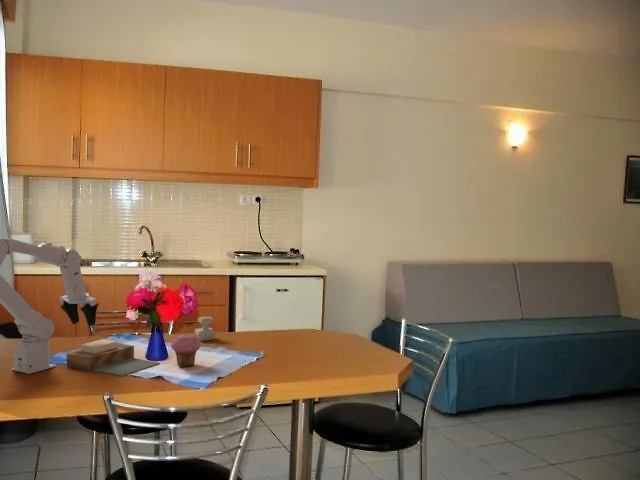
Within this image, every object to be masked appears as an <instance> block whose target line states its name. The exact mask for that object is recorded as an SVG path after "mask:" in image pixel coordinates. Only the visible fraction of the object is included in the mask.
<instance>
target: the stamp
mask: <svg viewBox="0 0 640 480" xmlns="http://www.w3.org/2000/svg"><path fill="white" fill-rule="evenodd" d="M213 320H214V318H213V317H211V316H201V317H200V316H198V320H197V321H198V322H199V323H200V325H201V326H202V327H200V328H195V329H194V334H195V336H196V337H197V338H198V339H199V340H200V342H201V341H202V342H205V341H206V342H207V341H212V340H213V339H214V338H215V336H216V335H217V334H216V333H217V332H216V330H214V329H213V328H212V327H209V325H211V324H212V322H213Z"/></svg>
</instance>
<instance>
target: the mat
mask: <svg viewBox="0 0 640 480" xmlns="http://www.w3.org/2000/svg"><path fill="white" fill-rule="evenodd" d="M160 364H161V363H160V362H157V361H152V360H151V361H150V360H145V359H141V358H135V357H134V358H129V359H126V360H122V361H119V362H116V363H112V364H109V365H106V366H102V367H99V368H95V369H92V372H93V371H94V372H99V373H104V374H107V375H112V376H118V377H123V376H127V375H131V374H133V373H136V372H135V371H137V372H139V371H138V370H140V371H142V370H141V369H143V370H146V369H149V368H152V367H154V366H158V365H160ZM145 368H146V369H145Z"/></svg>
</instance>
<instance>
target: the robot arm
mask: <svg viewBox="0 0 640 480" xmlns="http://www.w3.org/2000/svg"><path fill="white" fill-rule="evenodd" d="M13 253H18V254H21V255H22V254H23V255H29V256H33V257H34V259H35V260H36V262H40V263H44V264H49V265H53V266H56V267H58V268H59V270H60V274H61V279H62V282H63V285H64V290H65V293H66V295H63V296H62V295H61V296H60V297H59V299H60V300H59V301H60V303H61V305H60V309H61V310H63V311H64V313H65V314H66V315H67V317H68V318H69V320H70V321H71V323H72V325H75V324H78V323H80V317H79V311H78V310H79V308H78V307H79V306H78V304H80V305H84V306H82V307H80V311H81V312H82V313H83V315H84V316H85V319H86V322H87V324H88V327H92V326H94V325H96V323H97V321H96V317H97V312H98V311H97V309H98V307H99V305H100V304H99V302H98V301H97V298H96V297H92V296H90V294H89V292H86V287H85V284H84V280H83V276H82V271H81V269H82V267H81V263H82V255H80V254H79V252H78V251H77V250H75V249H70V248H69V249H67V248H66V247H65V246H64V245H60V246H57V245H53V243H52V242H48V241H44V242H41V243H39V244H37V245H36V244H32V243H29V242H26V241H25V242H24V241H21V240H17V239H14V238H6V237H5V238H4V237H0V267H1V266H2V264H3V263H4V260H5V258H6V257H7V255H11V254H13ZM0 305H2V307H3V308H4V309H6V310H7V312H8V313H9V314H10V315H11V316H12V317H13V318H14V321H13V323H15V325H16V326H17V329H18V332H19V333H20V335H22V336H21V337H22V338H21V339H22V341H20V342H18V343H16V344H15V345H14V347H13V368H11V371H15V372H19V373H24V374H33V373H37V372H41V371H45V370H49V369H51V368H55V367H57V365H56V364H53V363H50V340H51V336H53V334H54V332H55V323H54V322H53V320H52V319H50V318H47V317H44V316H43V315H42V314H41V313H40V312H37V310H34V309H33V308H32V307H31V306H30V305H29V304H28V302H27V301H25V299H24V298H23V297H22V296H21V295H20V294H19V293H18V292H17V291H16V290H15V288H14V287H13V286H12V285H11V284H10V283H9V282H8V281H7V280H6V278H4V277H3V275H1V274H0Z"/></svg>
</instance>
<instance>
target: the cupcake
mask: <svg viewBox="0 0 640 480" xmlns="http://www.w3.org/2000/svg"><path fill="white" fill-rule="evenodd" d="M200 348H201V340H200V339H199V338H198V337H197V336H196V335H194V334H190V333H189V334H188V333H183V334H179V335H178V336H176V337H175V338H174V339H173V340H172V342H171V349H172V350H173V351H174V352H175V356H176V364H177V366H178V367H180V368H181V367H182V368H183V367H194V366H195V362H196V354H197V351H198V350H199V349H200Z"/></svg>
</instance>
